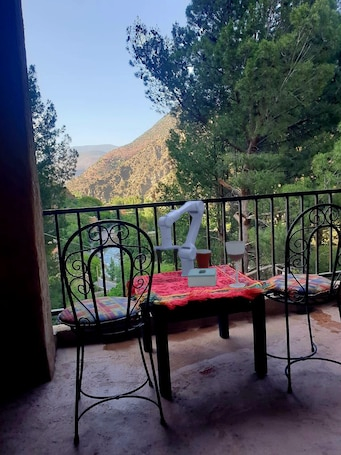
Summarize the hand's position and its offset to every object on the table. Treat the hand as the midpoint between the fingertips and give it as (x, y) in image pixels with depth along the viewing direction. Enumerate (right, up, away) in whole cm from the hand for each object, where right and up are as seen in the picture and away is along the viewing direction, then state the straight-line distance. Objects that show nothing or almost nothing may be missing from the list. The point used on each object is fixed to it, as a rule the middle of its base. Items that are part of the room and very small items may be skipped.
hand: (168, 262), depth 199 cm
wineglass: (+35, -10, -17) cm, 40 cm away
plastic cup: (+22, -7, +22) cm, 32 cm away
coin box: (+19, -10, -7) cm, 22 cm away
